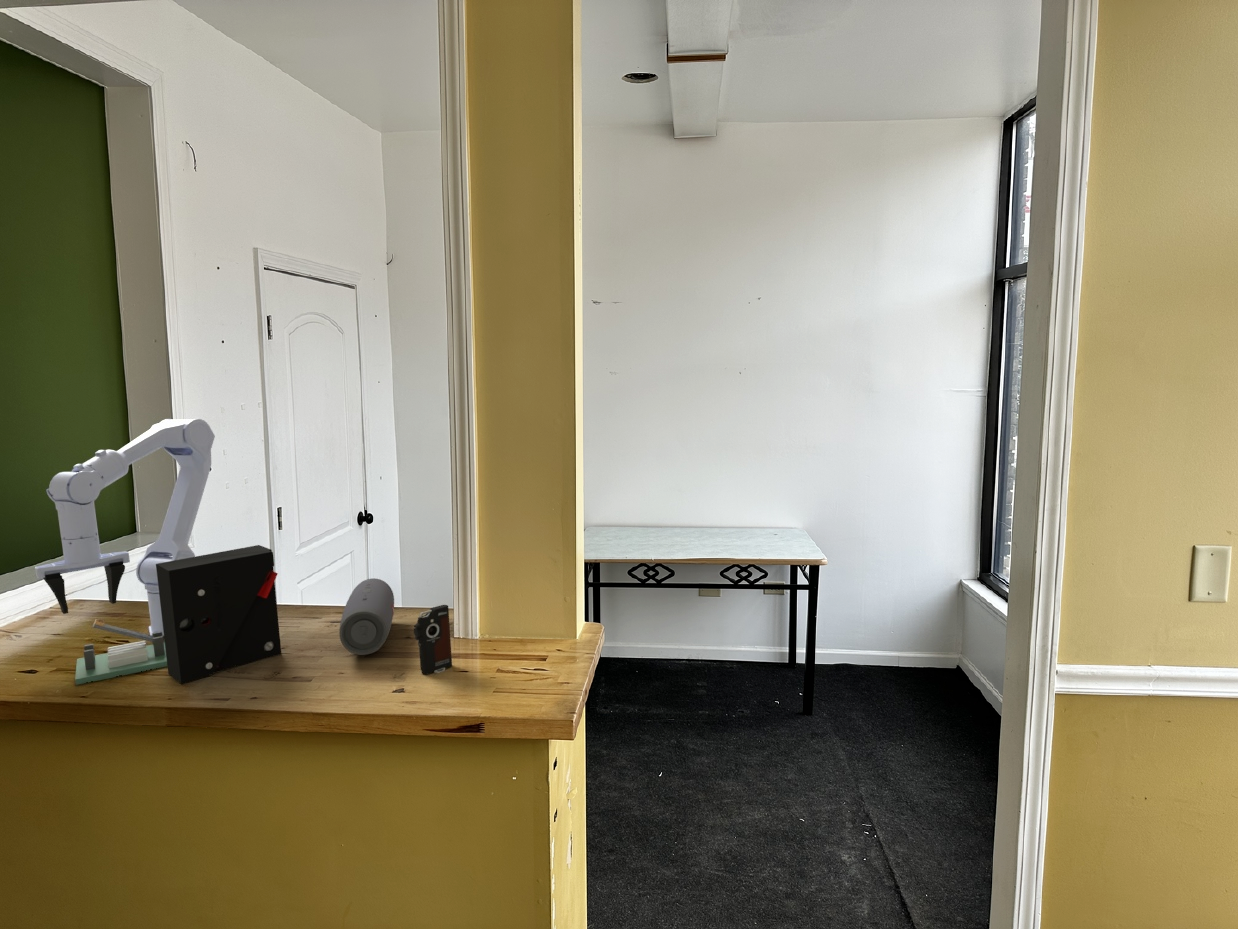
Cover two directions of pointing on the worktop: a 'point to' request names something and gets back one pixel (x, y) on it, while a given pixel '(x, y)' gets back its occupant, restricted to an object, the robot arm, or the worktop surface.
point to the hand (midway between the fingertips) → (89, 607)
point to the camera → (434, 640)
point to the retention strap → (121, 630)
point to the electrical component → (218, 611)
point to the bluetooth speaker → (367, 617)
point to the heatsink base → (121, 660)
